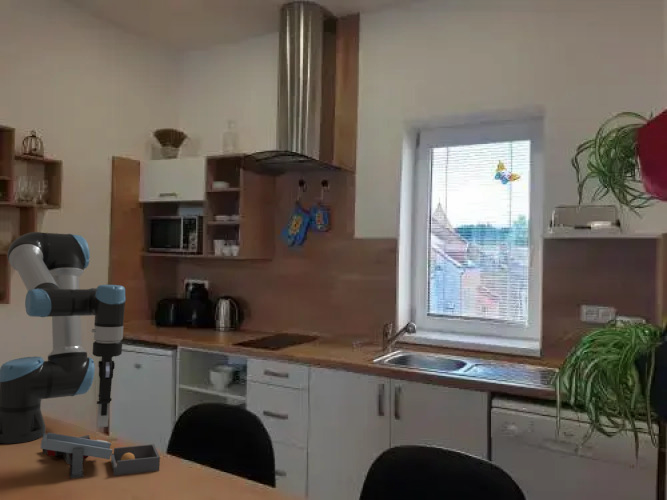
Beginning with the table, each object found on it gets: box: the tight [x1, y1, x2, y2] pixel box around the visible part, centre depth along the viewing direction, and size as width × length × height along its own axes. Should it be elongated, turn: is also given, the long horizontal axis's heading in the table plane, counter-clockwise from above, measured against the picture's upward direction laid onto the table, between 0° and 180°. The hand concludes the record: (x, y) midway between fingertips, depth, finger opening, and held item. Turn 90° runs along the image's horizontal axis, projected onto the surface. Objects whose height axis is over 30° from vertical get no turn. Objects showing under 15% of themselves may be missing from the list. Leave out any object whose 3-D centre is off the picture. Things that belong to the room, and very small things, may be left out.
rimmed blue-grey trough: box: [40, 432, 113, 460], centre depth 148 cm, size 12×17×2 cm
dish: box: [110, 443, 161, 476], centre depth 151 cm, size 11×11×4 cm
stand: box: [69, 447, 84, 479], centre depth 145 cm, size 9×3×7 cm, turn 25°
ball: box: [121, 453, 135, 460], centre depth 150 cm, size 4×4×4 cm
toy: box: [42, 434, 91, 466], centre depth 156 cm, size 9×6×15 cm
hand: (102, 426), depth 155 cm, fingers closed
